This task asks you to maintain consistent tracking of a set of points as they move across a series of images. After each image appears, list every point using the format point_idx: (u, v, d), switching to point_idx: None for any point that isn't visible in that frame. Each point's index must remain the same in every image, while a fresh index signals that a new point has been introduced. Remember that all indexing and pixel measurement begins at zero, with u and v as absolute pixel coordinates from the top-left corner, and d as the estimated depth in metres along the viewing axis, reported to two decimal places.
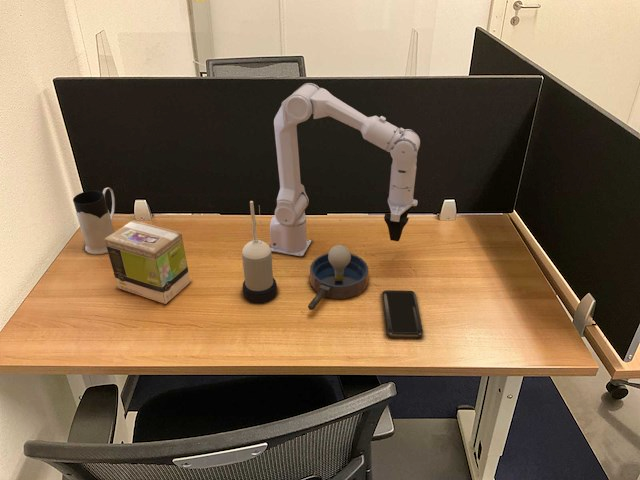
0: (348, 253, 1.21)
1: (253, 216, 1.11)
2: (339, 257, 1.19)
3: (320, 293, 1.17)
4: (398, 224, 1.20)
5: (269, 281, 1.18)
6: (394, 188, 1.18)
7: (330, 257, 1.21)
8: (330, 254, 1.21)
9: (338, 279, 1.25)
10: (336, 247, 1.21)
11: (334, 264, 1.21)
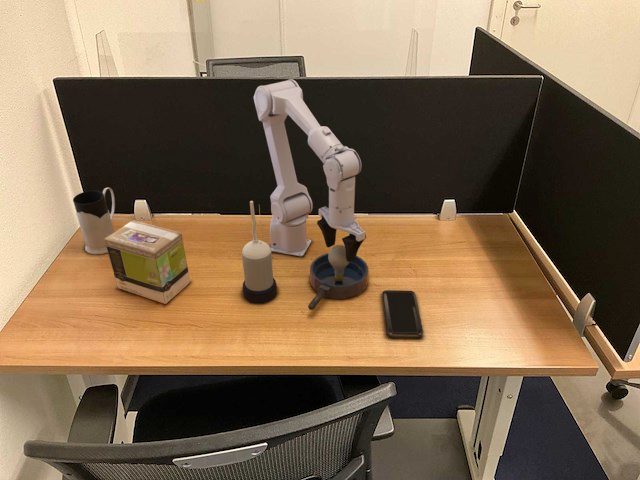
0: None
1: (253, 216, 1.11)
2: (339, 257, 1.19)
3: (320, 293, 1.17)
4: (354, 242, 1.16)
5: (269, 281, 1.18)
6: (344, 210, 1.12)
7: (330, 257, 1.21)
8: (330, 254, 1.21)
9: (338, 279, 1.25)
10: (336, 247, 1.21)
11: (334, 264, 1.21)
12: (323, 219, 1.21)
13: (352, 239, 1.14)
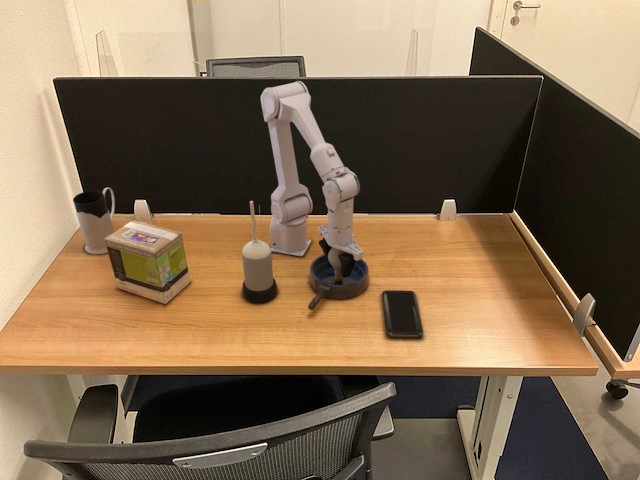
0: None
1: (253, 216, 1.11)
2: None
3: (320, 293, 1.17)
4: (350, 259, 1.20)
5: (269, 281, 1.18)
6: (342, 230, 1.15)
7: (330, 257, 1.21)
8: (330, 254, 1.21)
9: (338, 279, 1.25)
10: None
11: (334, 264, 1.21)
12: (324, 239, 1.23)
13: (348, 256, 1.17)
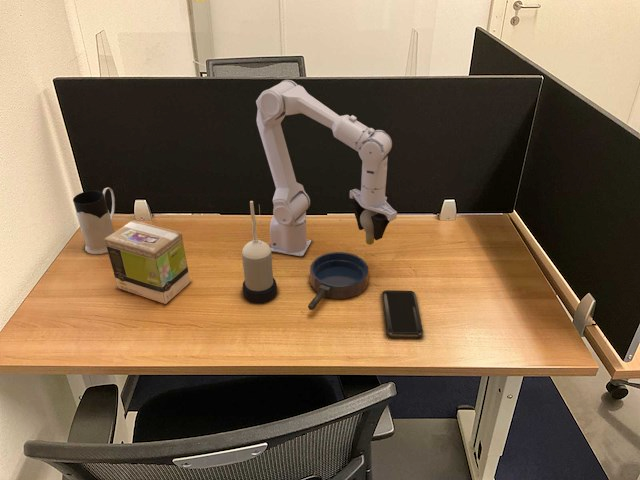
0: None
1: (253, 216, 1.11)
2: None
3: (320, 293, 1.17)
4: (382, 221, 1.21)
5: (269, 281, 1.18)
6: (376, 191, 1.16)
7: (362, 219, 1.22)
8: (362, 216, 1.22)
9: (369, 242, 1.26)
10: None
11: (366, 226, 1.22)
12: (356, 202, 1.24)
13: (381, 217, 1.18)
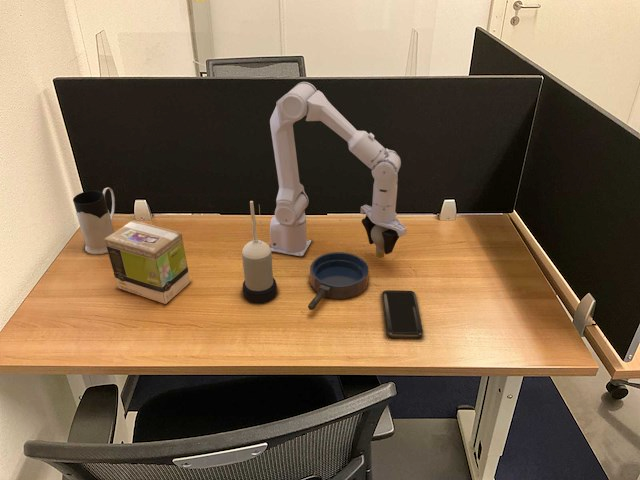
0: None
1: (253, 216, 1.11)
2: None
3: (320, 293, 1.17)
4: (392, 236, 1.26)
5: (269, 281, 1.18)
6: (387, 208, 1.21)
7: (373, 234, 1.27)
8: (373, 231, 1.27)
9: (379, 256, 1.31)
10: None
11: (377, 241, 1.27)
12: (367, 218, 1.29)
13: (391, 233, 1.23)
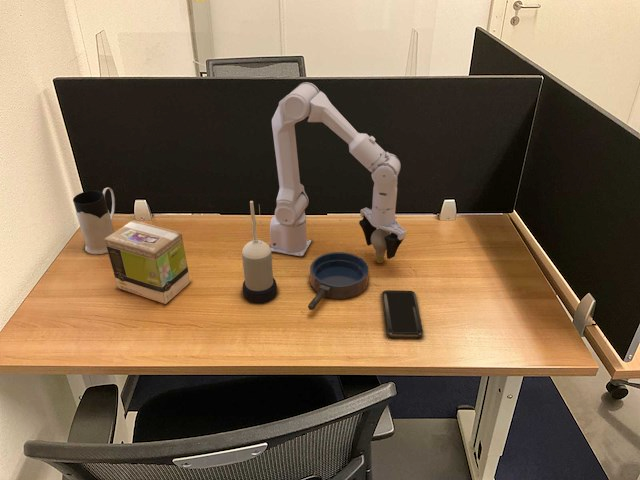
0: None
1: (253, 216, 1.11)
2: (382, 239, 1.26)
3: (320, 293, 1.17)
4: (395, 241, 1.26)
5: (269, 281, 1.18)
6: (387, 211, 1.21)
7: (373, 239, 1.28)
8: (373, 236, 1.28)
9: (379, 261, 1.32)
10: (379, 230, 1.28)
11: (377, 246, 1.28)
12: (365, 219, 1.30)
13: (394, 238, 1.23)
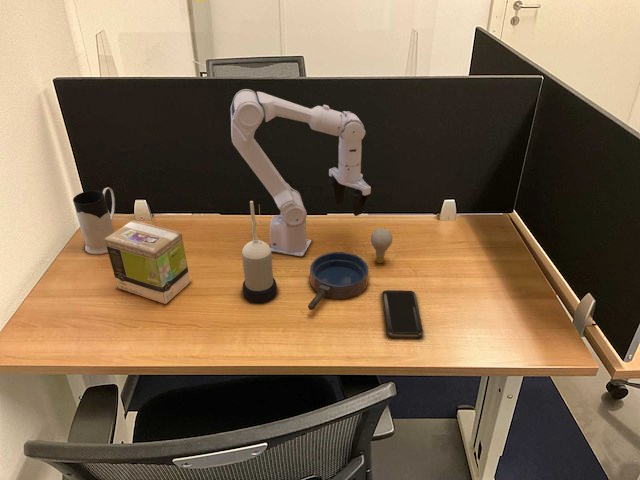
0: (390, 235, 1.28)
1: (253, 216, 1.11)
2: (382, 239, 1.26)
3: (320, 293, 1.17)
4: (361, 198, 1.31)
5: (269, 281, 1.18)
6: (351, 168, 1.26)
7: (373, 239, 1.28)
8: (373, 236, 1.28)
9: (379, 261, 1.32)
10: (379, 230, 1.28)
11: (377, 246, 1.28)
12: (333, 178, 1.35)
13: (359, 194, 1.28)
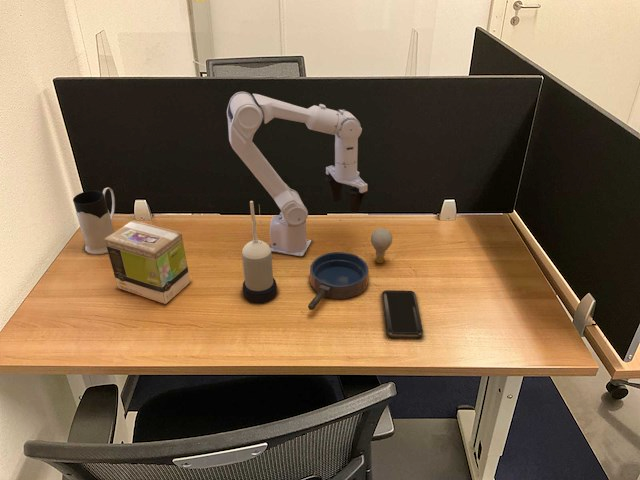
0: (390, 235, 1.28)
1: (253, 216, 1.11)
2: (382, 239, 1.26)
3: (320, 293, 1.17)
4: (358, 195, 1.32)
5: (269, 281, 1.18)
6: (348, 165, 1.27)
7: (373, 239, 1.28)
8: (373, 236, 1.28)
9: (379, 261, 1.32)
10: (379, 230, 1.28)
11: (377, 246, 1.28)
12: (330, 176, 1.36)
13: (356, 191, 1.29)
